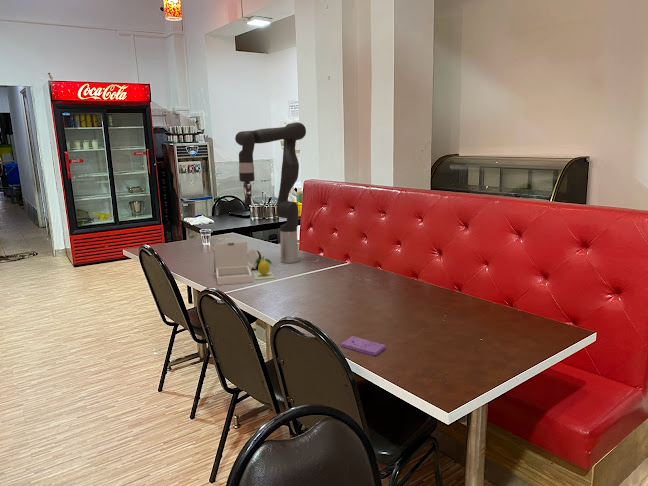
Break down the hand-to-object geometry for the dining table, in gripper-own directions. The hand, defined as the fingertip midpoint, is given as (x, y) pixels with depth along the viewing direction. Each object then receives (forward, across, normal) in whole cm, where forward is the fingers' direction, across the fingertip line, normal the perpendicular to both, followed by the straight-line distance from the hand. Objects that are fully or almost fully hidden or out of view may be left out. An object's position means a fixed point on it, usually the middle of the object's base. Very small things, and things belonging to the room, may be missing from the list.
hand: (248, 203), depth 250 cm
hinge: (+34, +3, -2) cm, 34 cm away
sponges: (+34, -112, -24) cm, 120 cm away
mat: (+34, -19, -4) cm, 39 cm away
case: (+34, -17, +11) cm, 39 cm away
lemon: (+34, -19, -4) cm, 39 cm away
